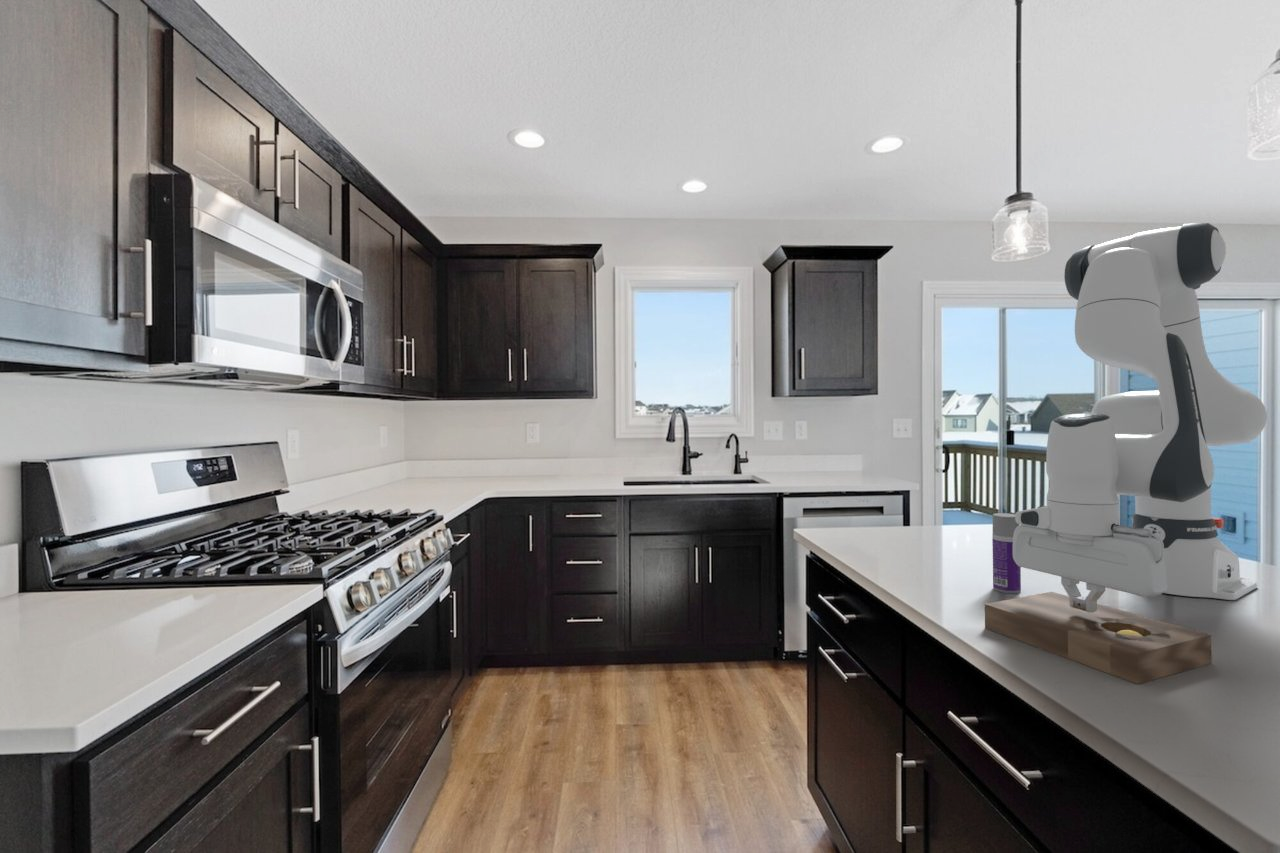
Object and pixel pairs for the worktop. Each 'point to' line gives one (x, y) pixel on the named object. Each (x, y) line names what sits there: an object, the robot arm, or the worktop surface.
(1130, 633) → the ball
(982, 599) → the worktop surface
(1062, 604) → the board
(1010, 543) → the container
